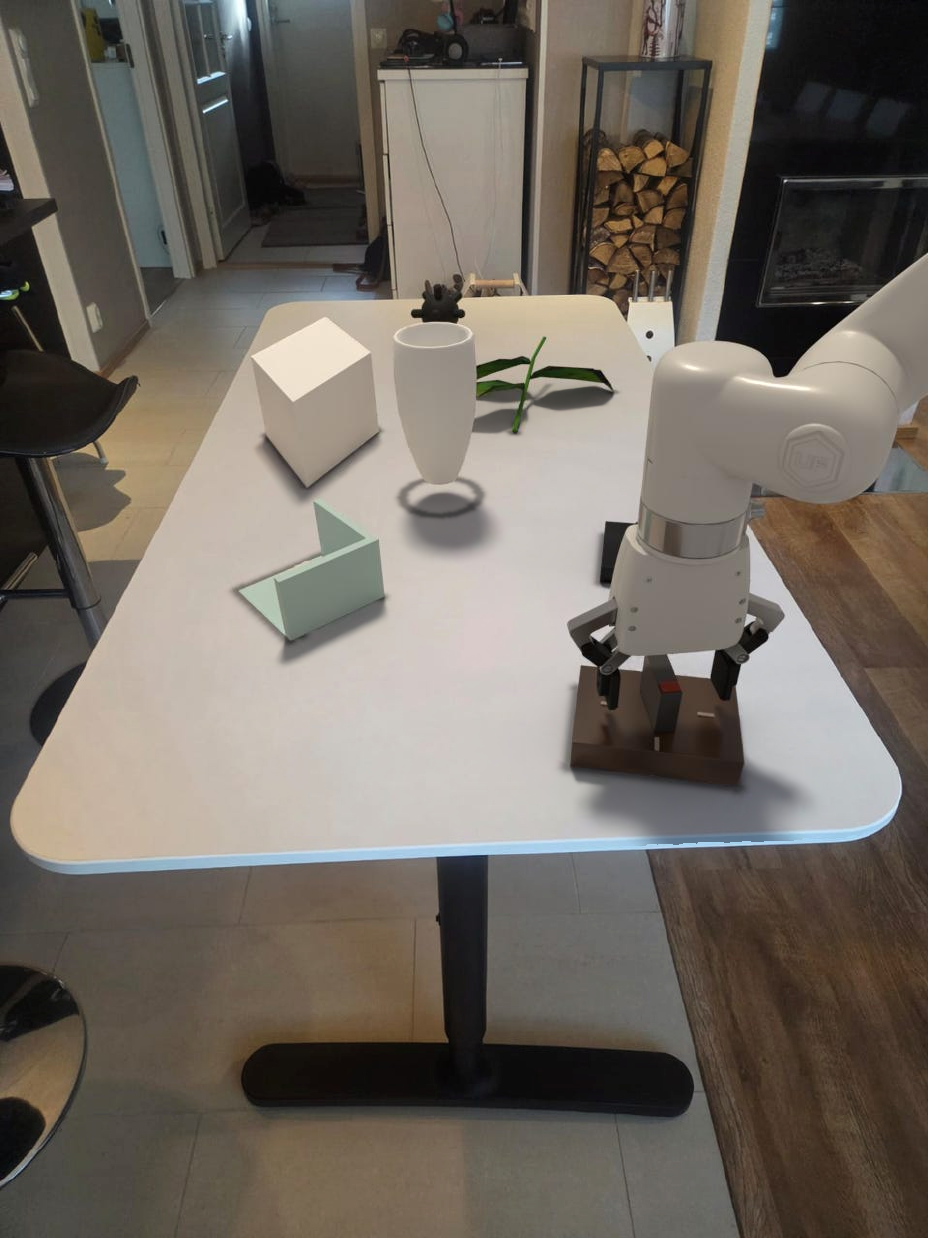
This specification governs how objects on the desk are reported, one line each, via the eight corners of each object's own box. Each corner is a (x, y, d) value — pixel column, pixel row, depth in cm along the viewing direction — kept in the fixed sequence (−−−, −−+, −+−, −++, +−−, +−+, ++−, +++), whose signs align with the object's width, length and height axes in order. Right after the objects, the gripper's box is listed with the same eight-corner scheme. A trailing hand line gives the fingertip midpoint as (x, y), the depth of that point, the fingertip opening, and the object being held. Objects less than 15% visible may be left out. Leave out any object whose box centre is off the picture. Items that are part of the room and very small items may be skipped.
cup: (386, 497, 107) (370, 336, 94) (441, 470, 113) (434, 314, 100) (440, 524, 102) (432, 356, 88) (496, 494, 107) (495, 332, 94)
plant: (420, 404, 132) (417, 358, 127) (540, 364, 145) (542, 321, 141) (494, 441, 120) (494, 391, 116) (618, 393, 134) (622, 347, 129)
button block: (704, 543, 96) (709, 515, 94) (708, 591, 89) (714, 561, 86) (604, 536, 98) (606, 507, 96) (599, 582, 91) (602, 552, 88)
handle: (639, 689, 72) (645, 648, 69) (659, 687, 72) (665, 647, 69) (654, 733, 68) (661, 691, 65) (675, 731, 68) (683, 690, 65)
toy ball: (482, 312, 160) (474, 314, 149) (445, 351, 164) (435, 356, 153) (444, 271, 158) (434, 270, 147) (408, 311, 162) (395, 313, 151)
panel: (729, 704, 75) (735, 679, 73) (738, 787, 67) (745, 761, 65) (578, 688, 77) (580, 663, 75) (569, 766, 69) (572, 740, 67)
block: (243, 489, 110) (224, 404, 103) (284, 391, 138) (271, 318, 130) (370, 485, 110) (361, 399, 103) (385, 388, 138) (378, 314, 130)
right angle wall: (328, 552, 97) (319, 497, 92) (384, 596, 90) (378, 539, 85) (238, 590, 91) (224, 534, 87) (290, 640, 84) (278, 582, 79)
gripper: (786, 488, 61) (748, 658, 72) (563, 504, 61) (557, 673, 71) (829, 539, 56) (780, 717, 66) (582, 557, 55) (572, 734, 65)
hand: (664, 694), depth 69 cm, fingers open, 9 cm apart
